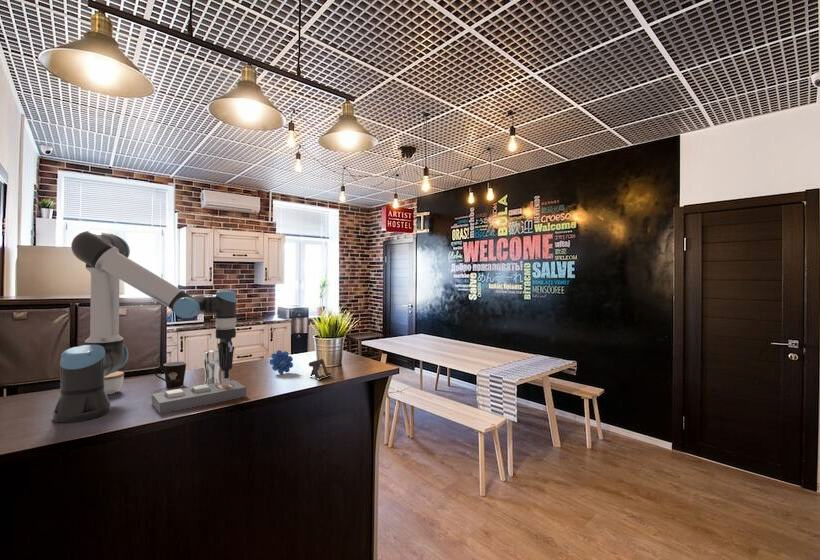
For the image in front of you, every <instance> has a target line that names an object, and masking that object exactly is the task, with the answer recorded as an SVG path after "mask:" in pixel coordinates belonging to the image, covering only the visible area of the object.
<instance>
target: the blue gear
mask: <svg viewBox="0 0 820 560" xmlns="http://www.w3.org/2000/svg"><path fill="white" fill-rule="evenodd" d="M270 356H271V359H270V360H269V364H270V365H271V366H272V367H271V369H272V371H274V372H276V371H277V372H278V374H280V373H282V374H284V372H285V373H287V372H288V373H289V372H290V371H291V370H290V369H291V368H293V367H294V363H293V356H291V355H289V352H288V351H282V350H280V349H279V350H277V351H276V353H275V352H273V353H272V354H271V355H270Z"/></svg>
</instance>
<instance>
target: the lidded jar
mask: <svg viewBox="0 0 820 560" xmlns="http://www.w3.org/2000/svg"><path fill="white" fill-rule="evenodd" d="M124 376H125V372H124V371H122V370H121V371H119V370H117V371H116V372H114V373H111V374H108V375H106V376H104V390H105V393H106V395H107V396H108V394H110V395H113V393H114V394H116V393H117V392H118V391H119V390H120V389H121V387H122V386H123V384H124V380H125V379H124V378H125V377H124ZM115 392H116V393H115Z"/></svg>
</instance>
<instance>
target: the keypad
mask: <svg viewBox="0 0 820 560" xmlns="http://www.w3.org/2000/svg"><path fill="white" fill-rule="evenodd" d="M229 384H231V385H232V386H234V387H229V388H223V389H219V388H217V386H219V385H221V382H220V381H219V383H214V384H208V386H209V387H210V391H206V392H201V393H195V394H194V393H193V392H192V387H193V386H191V387H186V388H180V389H181V390H183V391H184V396H179V397H173V398H166V397H165V391H161V392H154V393H151V406H152V407H153V406H154V407H153V409H155V410H156V412H157V411H158V412H157V413H158V414H159V415H163V413H164V414H168V413H167V412H169V413H172V412H171V411H174V412H178V411H177V410H179V411H182V409H184V410H188V409H187V408H189V409H193V408H192V407H194V408H198V407H197V406H199V407H203V406H202V405H204V406H209V405H212V404H218V403H223V402H227V400H228V401H232V399H233V400H237V398H238V399H241V398H240V397H243V398H246V397H247V386H246V385H243V384H242V383H240V382H239V381H237V380H234V379H231V380H230V382H229ZM245 396H246V397H245ZM222 401H223V402H222ZM208 404H209V405H208Z"/></svg>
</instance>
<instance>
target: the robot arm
mask: <svg viewBox="0 0 820 560" xmlns="http://www.w3.org/2000/svg"><path fill="white" fill-rule="evenodd" d="M70 247H71V251H72V254H73V255H74V256H75V257H76V258H77V259H78V260H79V261H82V262H83V263H85V269H86V270H87V271H89V273H90V328H89V329H90V330H89V331H90V332H89V333H90V334H89V337H88V338H86V339H85V340H84V345H79V346H73V347H70V348H68V349H65V350H63V352H62V353H61V355H60V361H59V365H60V366H59V367H60V369H59V370H60V371H59V372H60V375H59V376H60V380H59V381H60V383H59V384H60V388H59V389H60V391H59V393H60V396H59V398H58V401H57V403H56V405H55V408H54V410H53V413H52V420H53V422H56V423H62V424H63V423H64V424H65V423H66V424H67V423H76V422H83V421H88V420H92V419H96V418H99V417H102V416H104V415H107V414H108V413H110V412H111V403H110V400H109V397H108V395H106V393H105V390H104V376H106V375H108V374H111V373H114V372H116V371H119V370H120V369H121V368H123V367H124V366H125V364H126V363H127V362H128V359H129V355H130V354H129V350H128V347H127V346H125V342H124V337H123V336H121V335H120V281H122V282H124V283H126V284H127V285H129V286H131V287H133V288H134V289H136V290H138V291H139V292H141V293H143V294H145V295H146V296H149V298H151V299H153V300H155V301H157V302H158V303H160V304H162V305H164V306H165V307H167V308H169V309H170V310H172V312H173V313H174V315H176V316H177V317H179V318H181V319H190V318H194V317H197V316H199V315H213V314H214V315H215V325H214V326H215V328H216V329H215V338H216V339H218V340H219V343H217V350H218V352H219V367H220V372H221V375H220V377H221V378H220V380H221V386H222V387H223V386H228V385H229V382H230V381H231V380H230V377H231V376H230V373H231V372H230V371H231V370H232V369H233V361H234V352H235V346H233V342H232V339H234V338H236V336H237V329H236V326H237V322H238V319H237V302H238V301H237V293H236V291H235V290H216V292H215V295H204V294H202V295H201V294H199V295H195V294H192V295H191V294H189V293H187V292H185V291H183V290H182V289H181V288H179V287H177V286H175V285H174V284H173V283H170V282H169V281H167V280H165V279H164V278H162V277H161V276H159V275H157V274H155V273H154V272H152V271H150V270H148V269H147V268H145V267H143V266H142V265H140V264H139V263H137V262H136V261H134V260H132V259H130V258H129V257H130V253H131V252H130V251H131V250H130V246H129V244H128V242H127V241H126V240H125V239H123V238H122V237H120V236H117V235H115V234H113V233H107V232H101V231H97V230H96V231H95V230H87V231H83V232H79V234H77V235H76V236H75V237H74V238H73V239H72V242H71V246H70Z"/></svg>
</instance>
